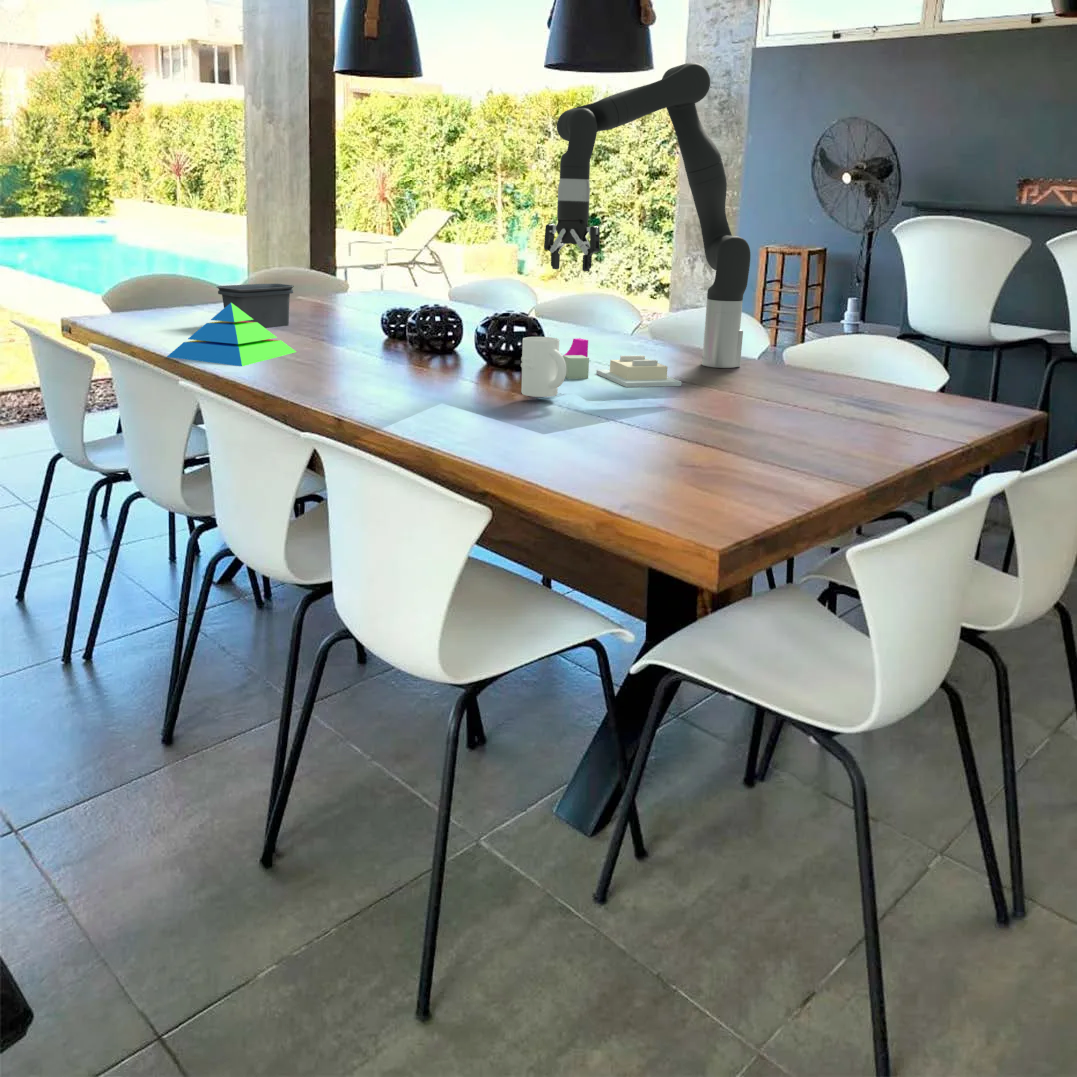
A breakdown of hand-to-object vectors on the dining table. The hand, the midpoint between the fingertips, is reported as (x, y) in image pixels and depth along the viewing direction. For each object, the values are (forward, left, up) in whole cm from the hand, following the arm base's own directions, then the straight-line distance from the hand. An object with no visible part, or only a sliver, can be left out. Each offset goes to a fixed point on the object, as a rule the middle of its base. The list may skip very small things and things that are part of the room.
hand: (570, 270), depth 250 cm
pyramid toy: (+79, -39, -26) cm, 91 cm away
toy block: (-1, -6, -26) cm, 26 cm away
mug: (+15, +29, -25) cm, 41 cm away
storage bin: (+71, -87, -25) cm, 115 cm away
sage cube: (0, +5, -25) cm, 26 cm away
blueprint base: (-14, +11, -25) cm, 31 cm away
